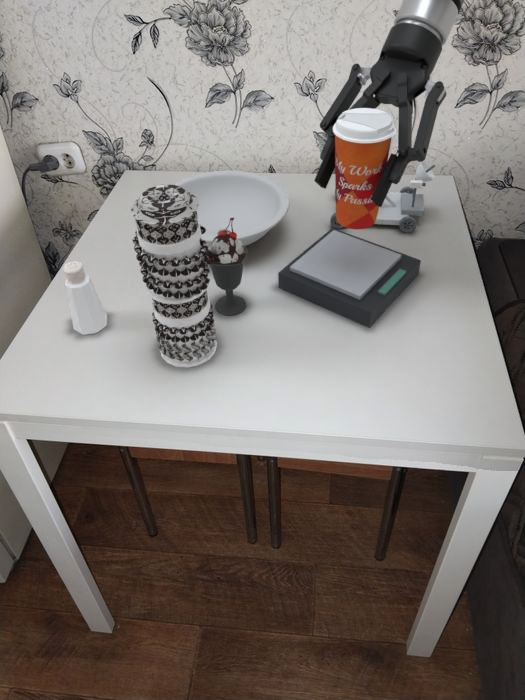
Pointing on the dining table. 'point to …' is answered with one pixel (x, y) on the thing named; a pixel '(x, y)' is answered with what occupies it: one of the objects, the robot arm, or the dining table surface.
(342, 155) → the coffee cup
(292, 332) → the dining table surface
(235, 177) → the white bowl
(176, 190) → the decorative candle
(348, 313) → the scale
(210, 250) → the sundae
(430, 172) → the toy car
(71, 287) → the pepper shaker
